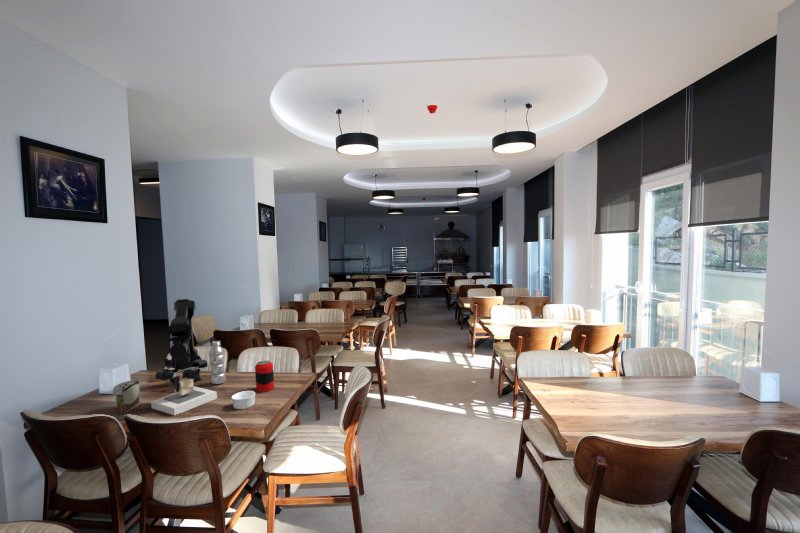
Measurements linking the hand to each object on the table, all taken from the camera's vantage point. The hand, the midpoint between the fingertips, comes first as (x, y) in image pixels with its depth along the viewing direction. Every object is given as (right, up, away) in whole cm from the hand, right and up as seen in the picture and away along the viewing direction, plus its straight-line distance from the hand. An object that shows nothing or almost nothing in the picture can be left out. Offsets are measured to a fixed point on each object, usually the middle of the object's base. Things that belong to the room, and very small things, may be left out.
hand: (184, 389), depth 159 cm
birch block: (0, -1, 0) cm, 1 cm away
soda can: (+29, -4, +13) cm, 32 cm away
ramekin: (+26, -5, -4) cm, 27 cm away
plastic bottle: (+4, -5, +22) cm, 23 cm away
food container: (-22, -7, -3) cm, 24 cm away
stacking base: (0, -6, 0) cm, 6 cm away
